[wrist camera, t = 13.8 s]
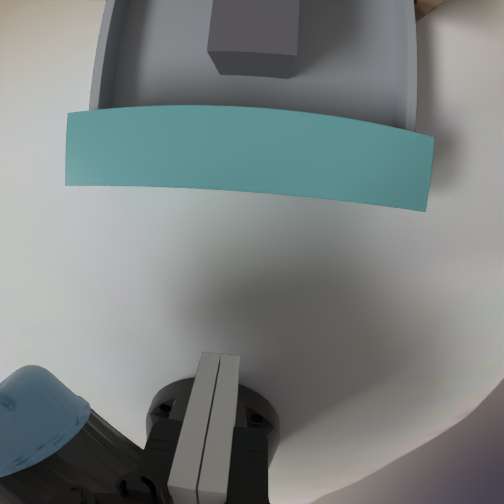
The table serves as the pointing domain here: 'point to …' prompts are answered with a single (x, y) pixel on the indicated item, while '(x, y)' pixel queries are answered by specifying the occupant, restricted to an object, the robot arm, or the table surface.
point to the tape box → (254, 37)
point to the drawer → (256, 107)
